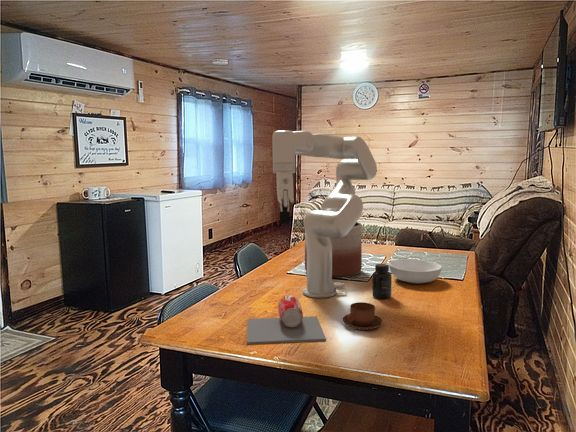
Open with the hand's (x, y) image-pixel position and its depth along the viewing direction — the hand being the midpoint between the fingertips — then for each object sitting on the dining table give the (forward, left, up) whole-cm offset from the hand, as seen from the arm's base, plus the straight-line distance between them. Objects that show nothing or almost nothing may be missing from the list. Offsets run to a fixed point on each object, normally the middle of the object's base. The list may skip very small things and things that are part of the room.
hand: (284, 223), depth 148 cm
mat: (+2, +21, -29) cm, 36 cm away
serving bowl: (-56, -27, -29) cm, 69 cm away
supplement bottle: (-36, -7, -29) cm, 47 cm away
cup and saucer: (-22, +20, -30) cm, 42 cm away
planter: (-25, -45, -29) cm, 59 cm away
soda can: (0, +10, -25) cm, 27 cm away
